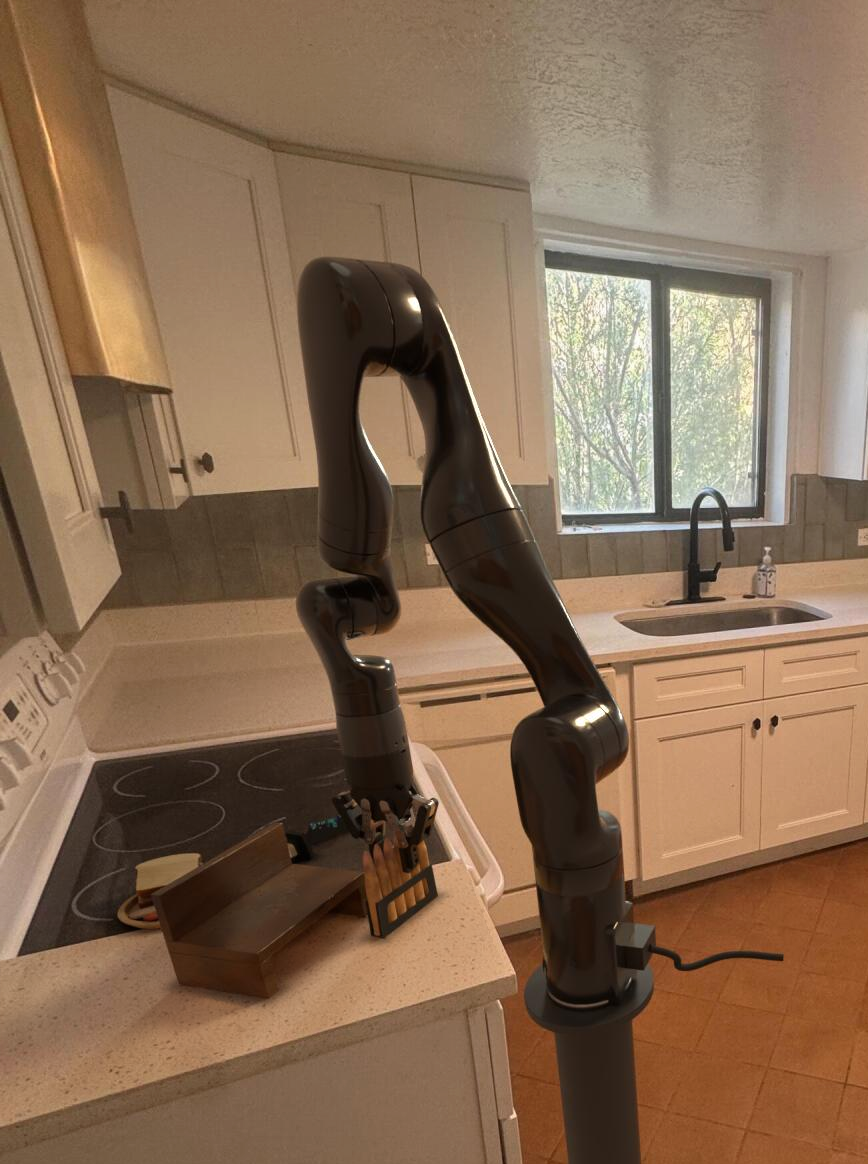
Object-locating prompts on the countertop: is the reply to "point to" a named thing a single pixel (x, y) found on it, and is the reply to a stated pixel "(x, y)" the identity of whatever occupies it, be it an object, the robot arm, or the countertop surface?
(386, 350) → the robot arm
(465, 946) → the countertop surface
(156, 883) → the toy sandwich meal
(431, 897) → the ammunition clip
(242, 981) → the wooden bench
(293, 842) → the knife
